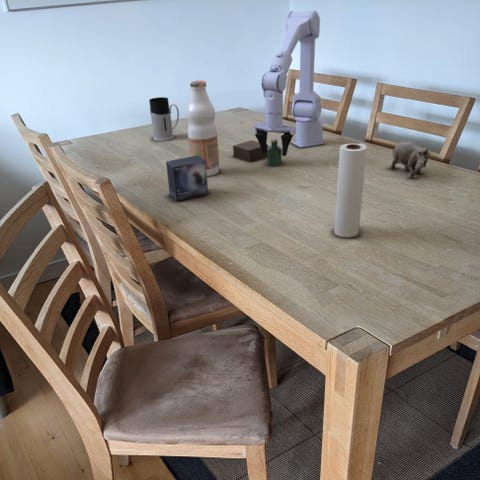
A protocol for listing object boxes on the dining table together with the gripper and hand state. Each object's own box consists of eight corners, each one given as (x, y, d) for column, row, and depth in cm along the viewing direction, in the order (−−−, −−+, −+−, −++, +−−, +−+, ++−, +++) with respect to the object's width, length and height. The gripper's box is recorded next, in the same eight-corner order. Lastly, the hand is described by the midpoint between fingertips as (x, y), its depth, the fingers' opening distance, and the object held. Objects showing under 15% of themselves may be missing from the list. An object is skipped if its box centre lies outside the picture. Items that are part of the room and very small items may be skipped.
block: (251, 151, 187) (251, 140, 185) (268, 155, 182) (268, 144, 179) (233, 156, 183) (232, 145, 181) (249, 161, 177) (249, 150, 175)
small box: (176, 202, 149) (172, 166, 143) (169, 195, 153) (164, 161, 148) (209, 194, 152) (206, 160, 146) (200, 188, 157) (197, 154, 151)
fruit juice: (191, 177, 166) (181, 85, 150) (192, 168, 174) (183, 80, 158) (219, 176, 166) (213, 83, 150) (219, 167, 174) (213, 78, 158)
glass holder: (163, 134, 213) (158, 96, 205) (188, 138, 206) (184, 99, 198) (148, 139, 208) (142, 100, 199) (174, 143, 201) (169, 103, 192)
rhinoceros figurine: (405, 155, 167) (423, 123, 153) (422, 189, 163) (442, 159, 149) (384, 160, 166) (400, 128, 152) (400, 194, 161) (418, 165, 147)
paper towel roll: (342, 240, 123) (349, 151, 111) (329, 230, 128) (334, 145, 115) (367, 233, 125) (376, 146, 113) (353, 225, 130) (361, 140, 118)
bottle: (278, 160, 177) (278, 137, 172) (284, 164, 173) (284, 140, 168) (265, 162, 175) (264, 139, 171) (270, 166, 171) (270, 142, 167)
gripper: (248, 113, 165) (250, 155, 172) (289, 116, 159) (289, 159, 166) (258, 108, 170) (259, 149, 177) (298, 111, 164) (297, 153, 171)
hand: (274, 154), depth 172 cm, fingers open, 7 cm apart
